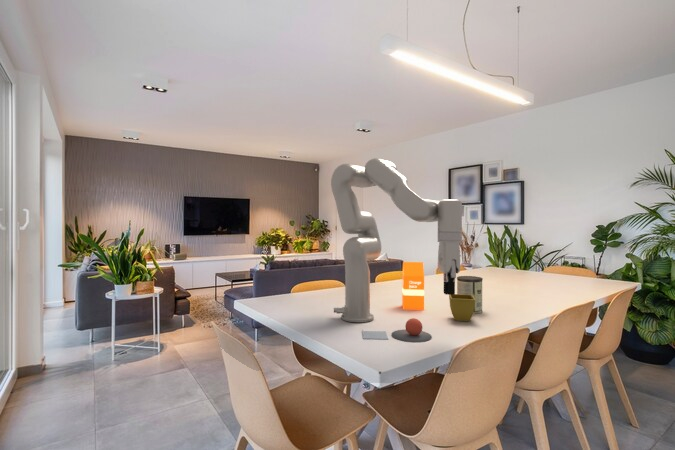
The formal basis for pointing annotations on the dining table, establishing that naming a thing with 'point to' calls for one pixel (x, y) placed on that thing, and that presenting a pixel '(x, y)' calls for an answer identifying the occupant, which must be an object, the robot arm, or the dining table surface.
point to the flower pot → (462, 306)
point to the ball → (413, 326)
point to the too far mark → (374, 335)
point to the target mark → (411, 336)
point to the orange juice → (413, 285)
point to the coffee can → (471, 289)
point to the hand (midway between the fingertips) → (449, 293)
